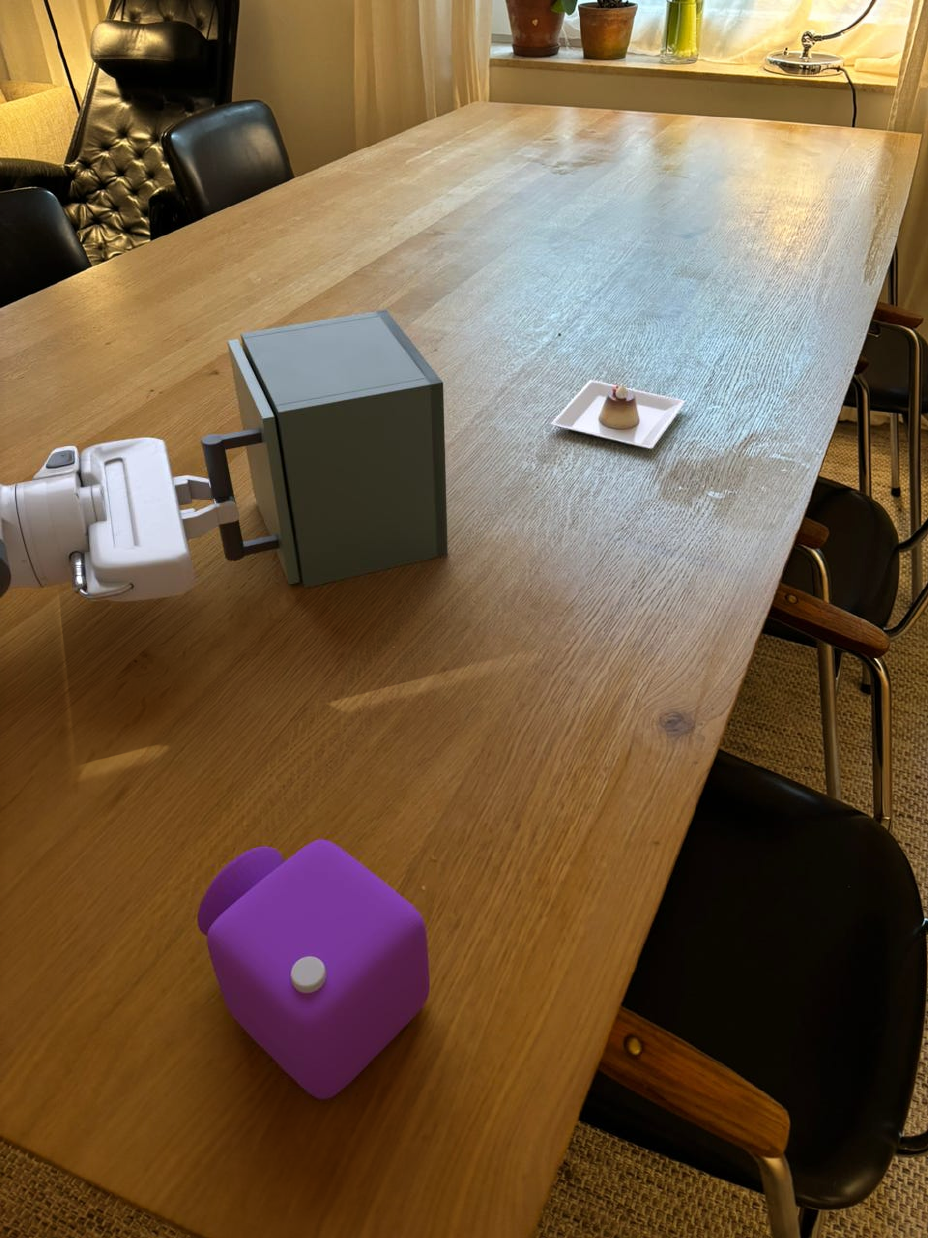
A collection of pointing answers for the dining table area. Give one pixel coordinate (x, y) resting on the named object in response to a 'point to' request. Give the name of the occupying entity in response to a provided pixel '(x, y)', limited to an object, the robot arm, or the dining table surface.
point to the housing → (355, 443)
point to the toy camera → (315, 959)
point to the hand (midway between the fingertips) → (234, 497)
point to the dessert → (619, 414)
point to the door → (253, 470)
